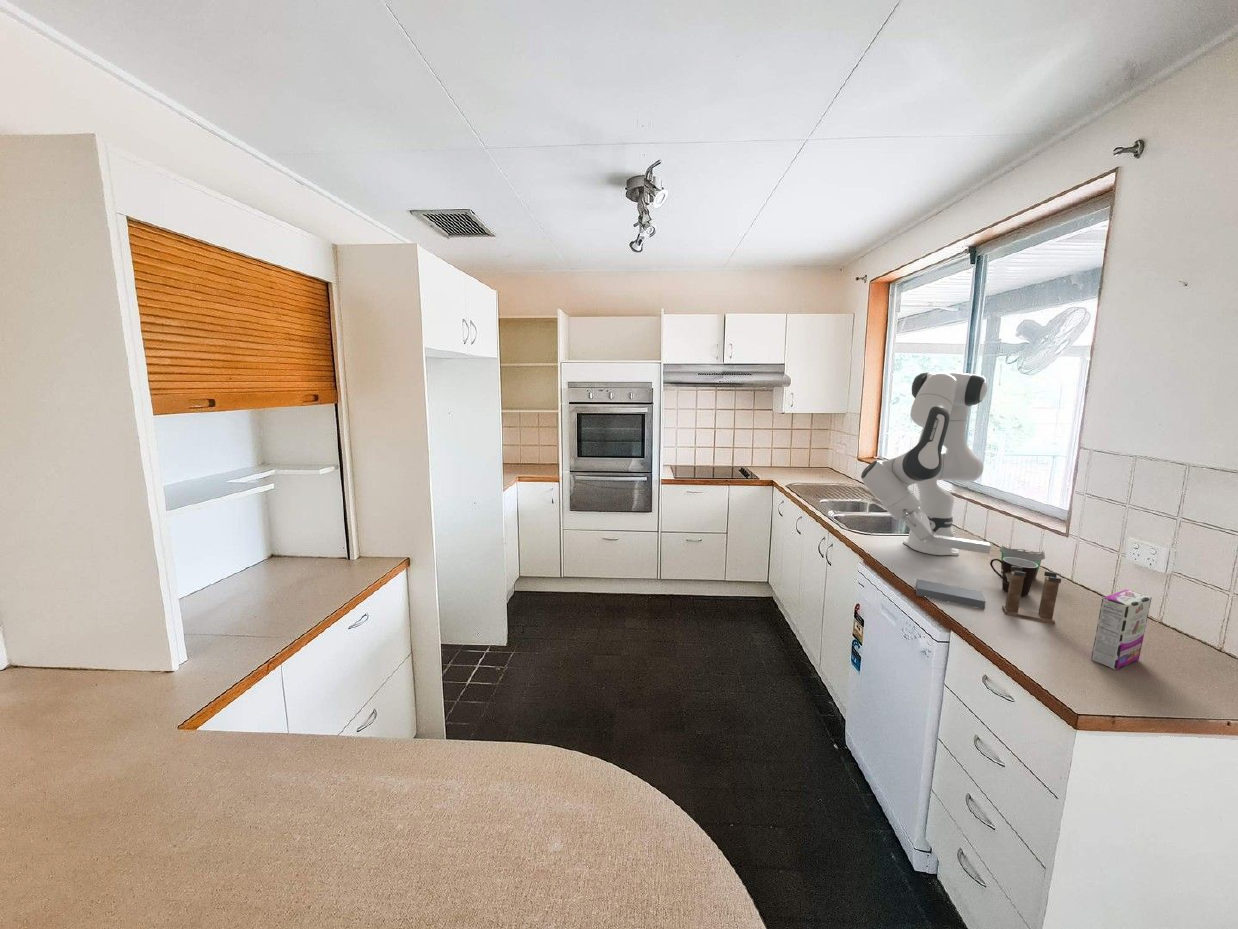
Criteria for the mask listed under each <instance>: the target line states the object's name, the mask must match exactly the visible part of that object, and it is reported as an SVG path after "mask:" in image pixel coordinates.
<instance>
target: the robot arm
mask: <svg viewBox="0 0 1238 929" xmlns="http://www.w3.org/2000/svg"><path fill="white" fill-rule="evenodd" d="M987 392H988V382H987V379H986V377H985V376H983V375H980V374H977V373H976V374H975V373H972V374H971V373H965V372H964V373H963V372H955V371H949V372H947V371H943V372H942V371H939V372H938V371H936V372H932V371H924V372H920V373H918V374H917V375H916V376H915V378H914V379H913V382H912V384H911V396H912V397H913V398H914V400H913V402H912V406H911V410H910V418H911V420H912V421H913V422H914V423H915V424H916V425H917V426H919V427H921V434H920V436H919V439H918V441H917V444H916V445H915V446H913V448H911V449H910V450H908V451H906V452H905V453H902V454H901V455H899V456H897V457H894V458H891V459H886V460H885V459H884V460H878V459H877V460H874V461H872V462H870V463H869V465H867V466H866V467H865V468H864V469H863V470H862V472H861V475H860V477H861V481H862V483H863V484H864V485H865V487H866V488H867V490H868V491H869V492H870V493H871V494H872V495H873V496H874V498H876V499H877V500H878V501H880V502H881V504H882V505H883V507H884V509H886V512H888V513H889V514H890V515H891V516H892V517H893V519H895V520H901V521H902V522H904V523H905V525H906V526H907V527H908V528H909V533H908V537H907V539H905V540H903V541H902V544H904V545H906V546H908V547H909V548H911V549H912V550H915V551H917V552H920V553H924V554H928V555H935V556H959V555H960V554H959V549H954V548H948V547H941V546H937V545H939V541H938V540H937V538H935V537H934V536H933V534H934V535H941V536H948V537H955V533H954V529H953V521H954V518H953V510H954V504H955V498H954V496H953V494H952V493H951V492H949V491H948V490H946V489H944V488H943V487H941V486H939V485H938V481H948V482H960V483H961V482H964V483H965V482H974V481H975V482H976V481H977V480H978V479H979V478H980V477H981V476H982V474H983V471H984V464H983V461H982V459H981V458H980V457H979V456H978V455H976V454H975V453H974V451H972V449H970V447H969V445H968V442H967V437H966V435H967V425H968V420H969V419H968V418H969V410H970V407H971V406H975V405H978V404H979V403H981V402H982V401H983V399H984V398H985V397H986V394H987ZM943 447H945V448H946V449H945V450H943V451H942V449H943ZM914 484H915V485H916V487H917V489H918V498H919V499H918V498H917V496H916V495H914V494H913V493H912V491H911V490H910V489H909V486H911V485H914ZM925 539H927V540H928V541H930V542H931V543H932V544H933V545H929V544H925Z"/></svg>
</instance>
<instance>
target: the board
mask: <svg viewBox="0 0 1238 929" xmlns="http://www.w3.org/2000/svg"><path fill="white" fill-rule="evenodd" d="M915 592H916V596H918V597H923V596H926V597H925V598H927V597H930V598H929V599H932V598H934V599H933V600H937V601H943V602H947V601H949V602H948V603H953V604H958V605H962V606H967V607H972V608H977V609H983V610H985V607H986V600H985V597H984V595H983V594H984V593H983V591H982V590H977V589H972V588H967V587H960V586H955V585H949V584H945V583H941V582H935V581H929V580H925V579H920V578H919V579H918V578H916V583H915ZM923 598H924V597H923Z"/></svg>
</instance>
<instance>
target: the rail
mask: <svg viewBox="0 0 1238 929" xmlns="http://www.w3.org/2000/svg"><path fill="white" fill-rule="evenodd" d="M933 536H934V537H935V538H937V540H938V541H939V545H937V546H941V547H948V548H954V549H958V550H962V551H968V552H972V553H973V552H975V553H981V554H988V555H989V554H990V552H991V547H992V546H991V545H992V544H990V542H988V541H987V542H986V541H981V540H974V539H967V538H962V537H961V538H960V537H955V536H954V537H948V536H941V535H934V534H933ZM925 544H929V545H933V544H932V543H931V542H930V541H928V540H927V539H925Z"/></svg>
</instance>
